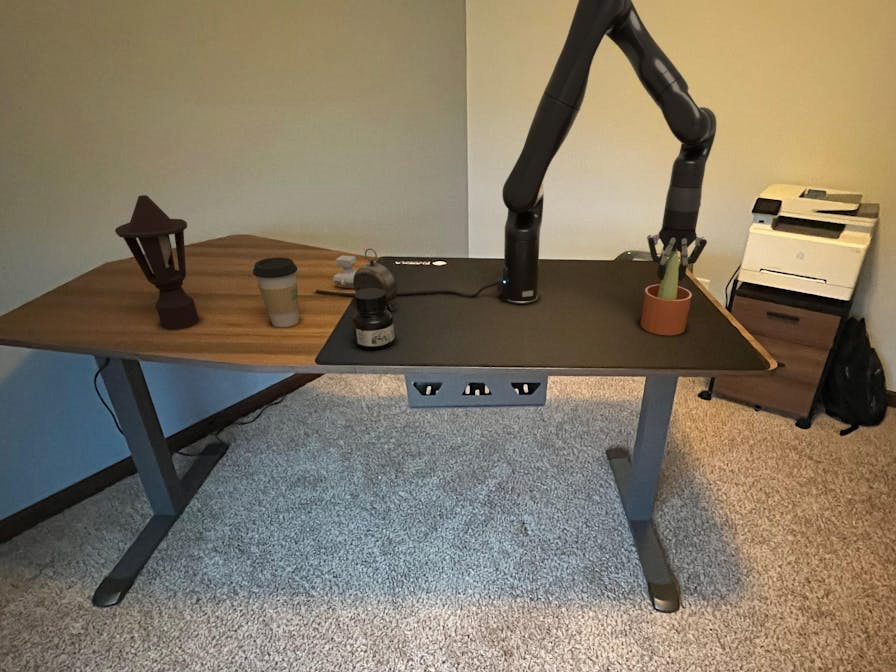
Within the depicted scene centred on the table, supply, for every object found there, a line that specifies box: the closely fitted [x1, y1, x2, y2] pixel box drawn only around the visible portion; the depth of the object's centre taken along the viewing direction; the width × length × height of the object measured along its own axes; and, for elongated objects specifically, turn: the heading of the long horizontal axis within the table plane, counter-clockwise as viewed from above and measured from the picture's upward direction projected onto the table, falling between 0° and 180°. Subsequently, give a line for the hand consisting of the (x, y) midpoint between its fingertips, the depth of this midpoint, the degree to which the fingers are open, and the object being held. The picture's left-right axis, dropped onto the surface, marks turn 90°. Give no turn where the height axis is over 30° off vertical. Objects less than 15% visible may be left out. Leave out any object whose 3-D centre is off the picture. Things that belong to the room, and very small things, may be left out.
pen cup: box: [639, 283, 693, 336], centre depth 140 cm, size 11×11×9 cm
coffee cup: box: [252, 256, 300, 328], centre depth 136 cm, size 10×10×15 cm
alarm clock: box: [353, 247, 398, 312], centre depth 143 cm, size 11×5×16 cm, turn 65°
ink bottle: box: [352, 288, 395, 351], centre depth 128 cm, size 10×9×12 cm
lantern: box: [114, 194, 200, 330], centre depth 131 cm, size 15×15×30 cm
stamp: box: [332, 254, 357, 289], centre depth 160 cm, size 9×7×8 cm
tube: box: [657, 249, 680, 300], centre depth 137 cm, size 6×5×20 cm
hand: (670, 278), depth 136 cm, fingers closed on tube, 3 cm apart
